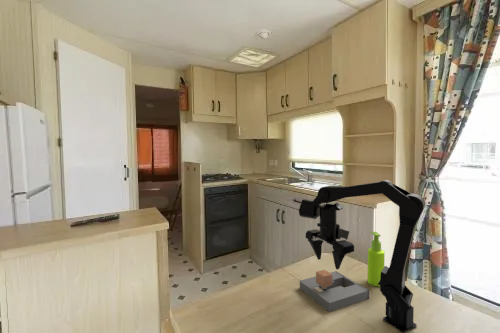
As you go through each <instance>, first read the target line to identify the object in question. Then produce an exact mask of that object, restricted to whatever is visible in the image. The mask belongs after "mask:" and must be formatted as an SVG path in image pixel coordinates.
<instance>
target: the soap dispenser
mask: <svg viewBox="0 0 500 333" xmlns="http://www.w3.org/2000/svg"><path fill="white" fill-rule="evenodd" d="M370 234H372V235H373V240H371V247H369V248H368V249H367V283H368V284H369V285H371V286H373V287H379V288H380V285H378V283H379V281H380V279H381V271H382V270H383V268H384V267H385V254H386V253H385V250H383V249H382V242H381V241H380V240H379V239H380V237H381V234H380V233H379V232H377V231H370Z"/></svg>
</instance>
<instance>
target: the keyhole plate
mask: <svg viewBox="0 0 500 333" xmlns="http://www.w3.org/2000/svg"><path fill="white" fill-rule="evenodd" d="M330 273H331V274H332V286H328V287H327V290H325V291H324V290H322V289H321V286H320V285H319V284H317V283H316V276H312V277H309V278H305V279H301V280H299V289H300V290H301V291H303V293H305V294H306V295H307V296H308V297H310V298H311V299H313V301H314V302H316V303H317V304H319V306H321V307H322V308H323V309H324V310H326V311H327V312H328V313H331V312H334V311H336V310H340V309H342V308H345V307H349V306H351V305H354V304H357V303H360V302H362V301H365V300H368V299H370V289H368V288H366V287H365V286H364V285H362V284H359V283H358V282H357V281H354V280H352V279H351V278H349V277H348V276H345V275H344V274H342V273H340V272H338V271H332V272H331V271H330ZM344 286H345V287H344Z"/></svg>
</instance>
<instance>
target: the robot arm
mask: <svg viewBox="0 0 500 333" xmlns="http://www.w3.org/2000/svg"><path fill="white" fill-rule="evenodd" d="M378 194H382V195H383V196H384V197H386V198H387V199H388V200H390V201H391V202H392V203H393V204H395V205H397V207H398V215H399V216H398V219H399V227H398V230H397V234H396V238H395V243H394V248H393V251H392V256H391V260H390V264H389V267H388V266H387V265H384V268H383V270H382V271H381V279H380V281H379V283H378V285H380V287H379V291H380V293H381V295H382V296H383V297H384V298H385V301H386V302H385V316H384V317H383V318H382V319H383V321H384V322H386V323H388V324H389V325H391V326H392V327H394V328H395V329H396V330H398V331H400V332H401V333H406V332H408V331H410V330H412V329H414V328H416V327H417V326H418V325H417V323H415V322H414V312H415V311H414V309H415V308H414V306H412V301H413V297H414V293H413V292H412V291H411V290H410V289H409V288H408V287H407V285H406V265H407V264H406V263H407V261H408V257H409V253H410V250H411V249H410V248H411V244H412V240H413V236H414V232H415V229H416V226H417V223H418V221H419V220H420V218H421V215H422V214H423V211H424V209H425V207H426V200H425V199H424V197H423V196H421V195H420V194H417V193H411V192H409V191H408V190H406V189H404V188H402V187H400V186H398V185H397V184H395V183H393V182H392V181H391V180H388V179H385V180H384V179H383V180H381V181H375V182H368V183H362V184H354V185H353V184H352V185H344V186H342V185H327V186H322V187H320V188H319V189H318V191H317V195H316V197H314V199H313V200H310V199H305V198H303V199H301V203H300V205H299V209H298V214H299V216H300V217H301V218H307V219H311V220H316V219H317V218H319V222H317V223H316V224H317V225H316V226H317V227H318V228H319V229H311V230H310V229H309V230H307V231H306V232H305V239H307V241H308V242H309V244H310V246H311V249H313V252H314V254H315V256H316V258H317V260H319V261H320V260H321V259H322V248H323V247H322V245H323V244H324V242H325V243H327V244H329V245H332V249H333V250H332V258H333V264H334V266H335V269H336V270H339V269H340V267H341V265H342V263H343V260H344V258H345V257H346V255H347V254H351V253H354V252H355V244H354V243H353V242H351V241H348V239H349V234H350V231H349V230H346V229H343V228H341V226H340V224H339V223H337V211H341V210H343V209H344V208H343V206H342V205H340V203H339V202H338V201H339V200H342V199H345V198H354V197H355V198H356V197H364V196H370V195H371V196H373V195H378ZM335 201H337V202H335ZM332 202H335V203H334V204H332ZM322 204H323V205H322ZM324 204H325V205H324ZM341 239H342V240H341Z"/></svg>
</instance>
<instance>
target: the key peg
mask: <svg viewBox="0 0 500 333" xmlns="http://www.w3.org/2000/svg"><path fill="white" fill-rule="evenodd" d="M315 277H316V283H317V284H319V285H320V286H321V289H322V290H324V291H325V290H328V289H327V287H328V286H332V274H331V272H329V271H328V270H326V269H322V270H317V271H316V272H315Z"/></svg>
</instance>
